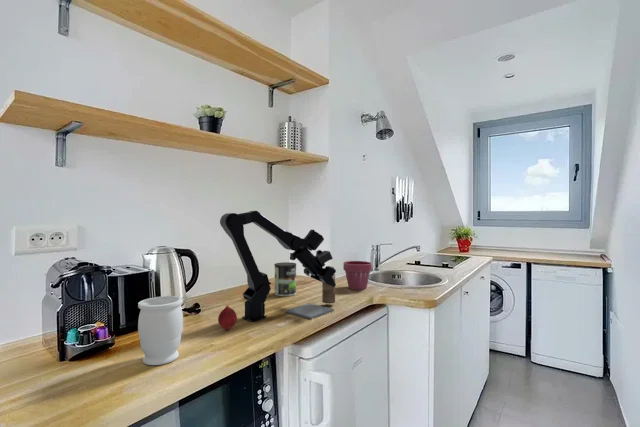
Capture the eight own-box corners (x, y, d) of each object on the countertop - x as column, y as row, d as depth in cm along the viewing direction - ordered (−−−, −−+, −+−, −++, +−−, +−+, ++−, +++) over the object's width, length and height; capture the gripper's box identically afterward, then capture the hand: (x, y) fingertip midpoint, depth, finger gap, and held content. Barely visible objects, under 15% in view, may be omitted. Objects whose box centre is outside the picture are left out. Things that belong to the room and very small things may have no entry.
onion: (240, 328, 105) (240, 304, 105) (227, 334, 100) (227, 308, 100) (227, 325, 108) (227, 301, 108) (214, 331, 103) (214, 306, 103)
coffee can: (301, 293, 153) (300, 263, 153) (285, 297, 144) (285, 266, 145) (285, 290, 159) (284, 261, 159) (269, 294, 151) (269, 264, 151)
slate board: (311, 319, 114) (311, 317, 114) (285, 312, 122) (285, 310, 123) (333, 311, 124) (333, 309, 124) (309, 305, 132) (309, 303, 132)
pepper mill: (329, 304, 128) (329, 271, 128) (319, 301, 132) (319, 269, 132) (337, 301, 132) (337, 269, 132) (327, 299, 135) (327, 268, 136)
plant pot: (368, 284, 171) (368, 260, 171) (374, 290, 157) (374, 264, 157) (341, 285, 170) (341, 260, 170) (345, 291, 156) (345, 264, 156)
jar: (132, 358, 83) (132, 300, 83) (174, 347, 91) (173, 293, 91) (145, 372, 76) (145, 308, 76) (189, 358, 83) (189, 300, 83)
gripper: (331, 246, 122) (356, 273, 127) (310, 242, 139) (332, 266, 143) (312, 268, 118) (338, 295, 123) (293, 262, 135) (316, 286, 140)
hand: (331, 284), depth 133 cm, fingers closed on pepper mill, 5 cm apart
